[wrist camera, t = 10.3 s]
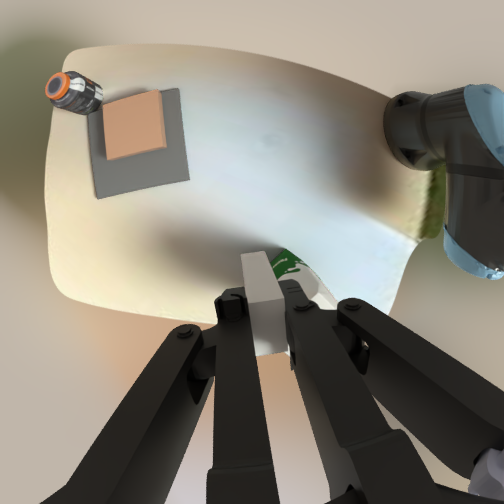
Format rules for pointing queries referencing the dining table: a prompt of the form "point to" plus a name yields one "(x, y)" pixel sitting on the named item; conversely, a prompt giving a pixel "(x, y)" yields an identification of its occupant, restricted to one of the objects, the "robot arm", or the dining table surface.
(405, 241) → the dining table surface
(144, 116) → the tile
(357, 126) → the dining table surface
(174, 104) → the mat
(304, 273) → the milk carton
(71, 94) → the pill bottle
